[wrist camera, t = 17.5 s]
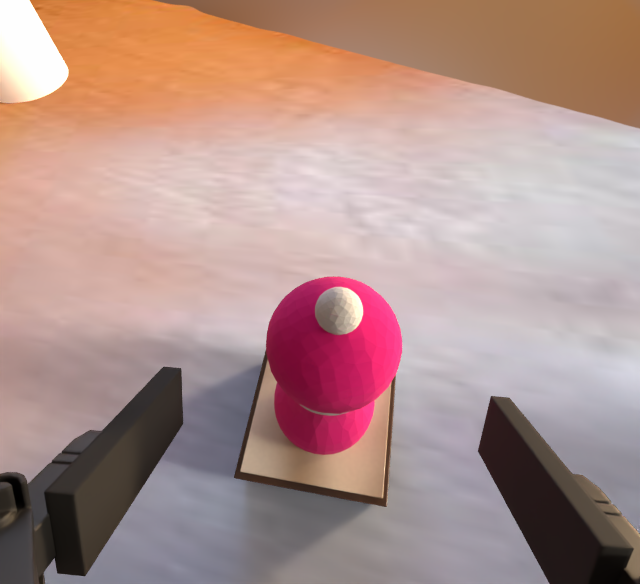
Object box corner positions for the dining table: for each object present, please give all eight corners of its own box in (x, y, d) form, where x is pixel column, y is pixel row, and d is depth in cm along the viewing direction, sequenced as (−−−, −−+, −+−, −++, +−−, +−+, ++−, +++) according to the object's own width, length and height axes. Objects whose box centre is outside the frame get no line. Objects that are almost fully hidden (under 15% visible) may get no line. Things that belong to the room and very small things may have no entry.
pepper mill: (345, 357, 32) (389, 200, 15) (380, 439, 29) (486, 359, 12) (267, 385, 31) (214, 247, 14) (294, 474, 28) (270, 443, 10)
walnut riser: (384, 376, 39) (399, 354, 33) (374, 504, 33) (389, 507, 27) (274, 357, 40) (268, 332, 33) (245, 480, 34) (231, 477, 28)
